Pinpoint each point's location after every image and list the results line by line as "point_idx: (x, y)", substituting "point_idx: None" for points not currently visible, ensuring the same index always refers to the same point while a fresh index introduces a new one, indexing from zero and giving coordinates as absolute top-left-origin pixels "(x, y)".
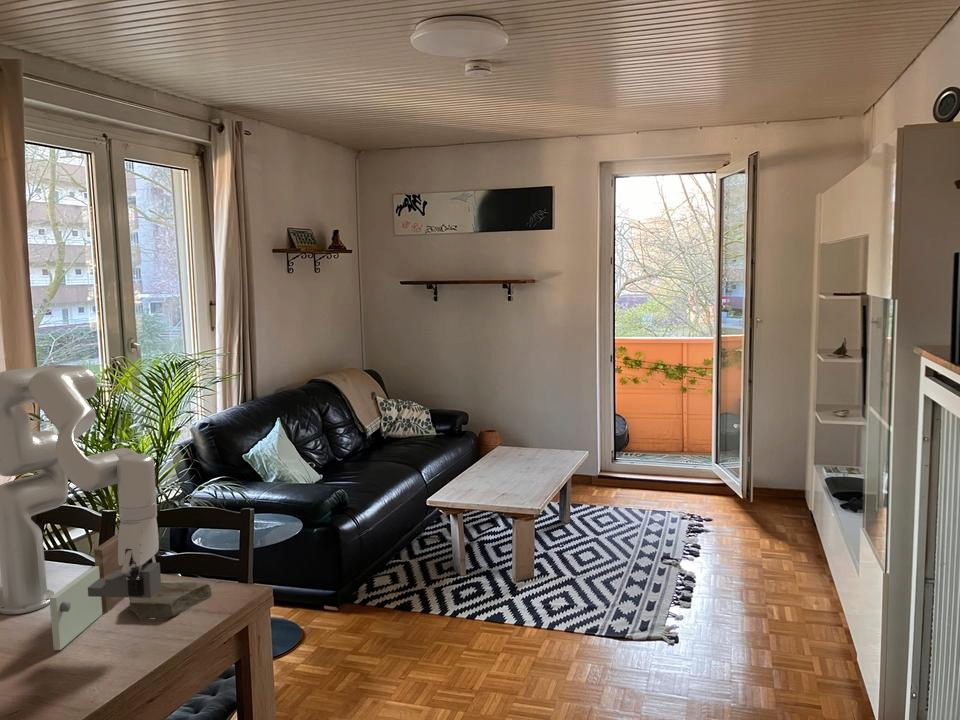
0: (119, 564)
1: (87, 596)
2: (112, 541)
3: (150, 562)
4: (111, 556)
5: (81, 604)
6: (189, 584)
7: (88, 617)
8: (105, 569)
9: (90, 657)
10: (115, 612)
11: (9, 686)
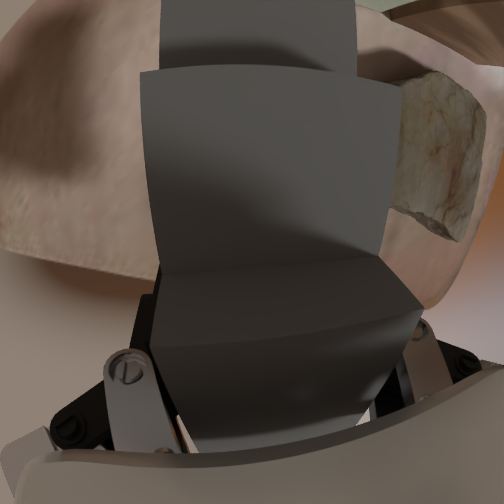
0: (22, 479)
1: None
2: None
3: (388, 386)
4: None
5: None
6: (468, 201)
7: None
8: (487, 8)
9: (134, 82)
10: (395, 39)
11: (20, 18)
